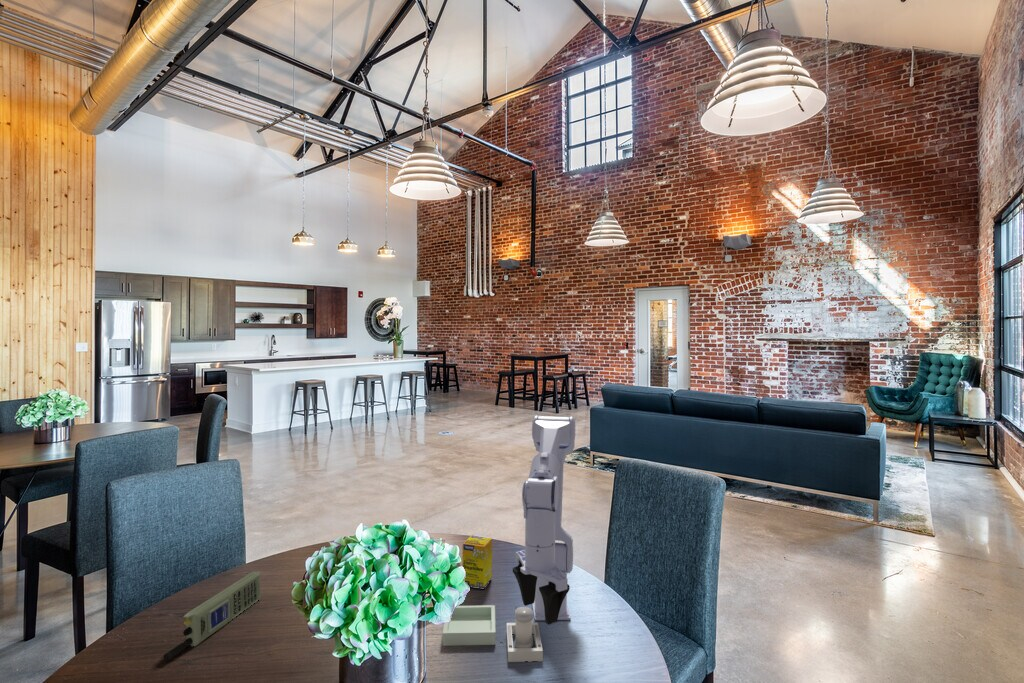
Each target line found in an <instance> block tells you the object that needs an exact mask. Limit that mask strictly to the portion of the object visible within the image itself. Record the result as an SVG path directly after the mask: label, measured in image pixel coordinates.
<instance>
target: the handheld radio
mask: <svg viewBox="0 0 1024 683" xmlns="http://www.w3.org/2000/svg"><path fill="white" fill-rule="evenodd" d="M258 600H259V601H261V573H260V571H252V572H250V573H248V574H247V575H245V576H244V577H242V578H240V579H239V580H238V581H235V582H234V583H232V584H231V585H230V586H228V587H226V588H225V589H223V590H221V591H220V592H219V593H217V594H216V595H214V596H212V597H210V598H209V599H207V600H205V601H204V602H202V603H201V604H200V605H198V606H196V607H194V608H193V609H191V610H190V611H188V612H187V613H185V614H184V615H183V617H182V618H185V620H184V622H183V624H184V626H186V627H185V629H184V630H183V633H182V634H183V635H184V636H186V639H185V640H184V641H183V642H181V643H179V644H178V645H176V646H175V647H173V648H172V649H171V650H169V651H167V652H165V653H164V654H163V656H162V658H163V660H164V661H165V662H168V661H170V660H171V659H172V658H174V657H175V656H176V655H178V654H180V652H182V651H183V650H185V648H186V647H193V646H194V647H196V646H198V645H199V644H201V643H203V642H204V641H205V640H206V639H207V638H209V637H210V636H211V635H213V634H215V633H216V632H218V631H219V630H221V629H222V628H223V627H224V626H226V625H227V624H228V622H229V623H230V622H231V621H233V620H234V619H236V618H237V617H238V616H240V615H241V614H242V613H244V612H245V611H247V610H248V609H250V608H251V607H252V606H254V605H255V604H257V603H258V602H259V601H258ZM257 601H258V602H257ZM254 603H255V604H254ZM253 604H254V605H253ZM251 605H252V606H251ZM250 606H251V607H250ZM247 608H248V609H247ZM246 609H247V610H246ZM244 610H245V611H244ZM243 611H244V612H243ZM240 613H241V614H240ZM239 614H240V615H239ZM236 616H237V617H236ZM232 619H233V620H232ZM189 645H191V646H189Z"/></svg>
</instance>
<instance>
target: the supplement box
mask: <svg viewBox="0 0 1024 683" xmlns="http://www.w3.org/2000/svg"><path fill="white" fill-rule="evenodd" d="M461 562H462V565H461V566H463V567H464V569H465V571H466V578H465V582H466V583H467V584H468V585H469V586H470V587H471V586H472V587H479V588H485V586H486V585H487V584H488V582H489V581H490V579H491V578H492V575H493V573H492V572H493V571H492V570H493V566H492V565H493V538H492V537H484V536H483V537H482V536H475V535H470V536H469V537H468V538H467V539H466V540H465V541H464V542H463V543H462V561H461ZM490 582H491V581H490ZM488 585H489V584H488ZM488 585H487V586H488ZM485 589H486V588H485Z"/></svg>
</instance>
